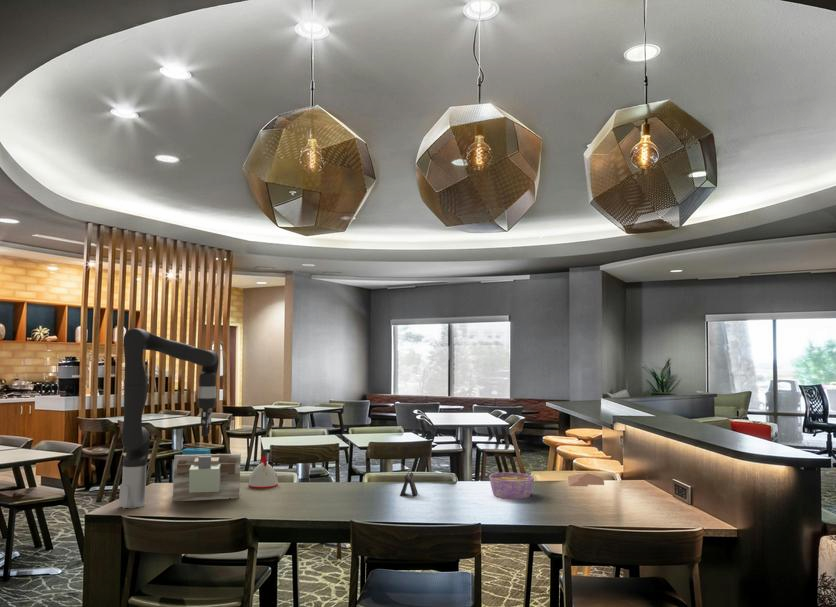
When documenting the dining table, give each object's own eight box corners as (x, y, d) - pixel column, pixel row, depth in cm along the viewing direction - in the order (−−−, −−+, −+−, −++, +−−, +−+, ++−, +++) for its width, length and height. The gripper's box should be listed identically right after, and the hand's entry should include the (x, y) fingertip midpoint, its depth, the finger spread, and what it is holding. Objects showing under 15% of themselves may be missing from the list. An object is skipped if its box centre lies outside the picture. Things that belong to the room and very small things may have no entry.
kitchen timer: (252, 491, 302) (253, 459, 303) (245, 485, 314) (246, 454, 315) (281, 488, 308) (282, 457, 309) (273, 483, 320) (274, 453, 322)
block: (209, 492, 298) (211, 449, 300) (205, 495, 293) (206, 450, 295) (185, 491, 299) (186, 448, 301) (180, 494, 294) (181, 450, 296)
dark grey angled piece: (397, 501, 285) (398, 474, 286) (400, 498, 291) (400, 471, 292) (417, 502, 283) (418, 475, 284) (419, 499, 289) (420, 472, 290)
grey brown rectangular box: (238, 502, 279) (239, 456, 281) (170, 504, 274) (172, 457, 276) (240, 496, 292) (241, 451, 293) (175, 498, 287) (177, 452, 288)
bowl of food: (480, 500, 289) (480, 474, 290) (516, 496, 298) (516, 471, 299) (506, 510, 271) (506, 482, 272) (543, 505, 280) (543, 478, 281)
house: (609, 485, 327) (609, 469, 328) (613, 499, 295) (613, 481, 296) (563, 482, 332) (563, 466, 333) (562, 496, 300) (562, 478, 301)
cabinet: (218, 491, 273) (219, 457, 272) (189, 492, 271) (189, 458, 270) (221, 482, 284) (221, 449, 283) (193, 483, 282) (193, 450, 280)
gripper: (214, 398, 269) (212, 437, 268) (218, 395, 283) (216, 432, 282) (195, 398, 267) (193, 437, 266) (200, 395, 281) (198, 432, 280)
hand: (205, 435), depth 274 cm, fingers open, 8 cm apart
